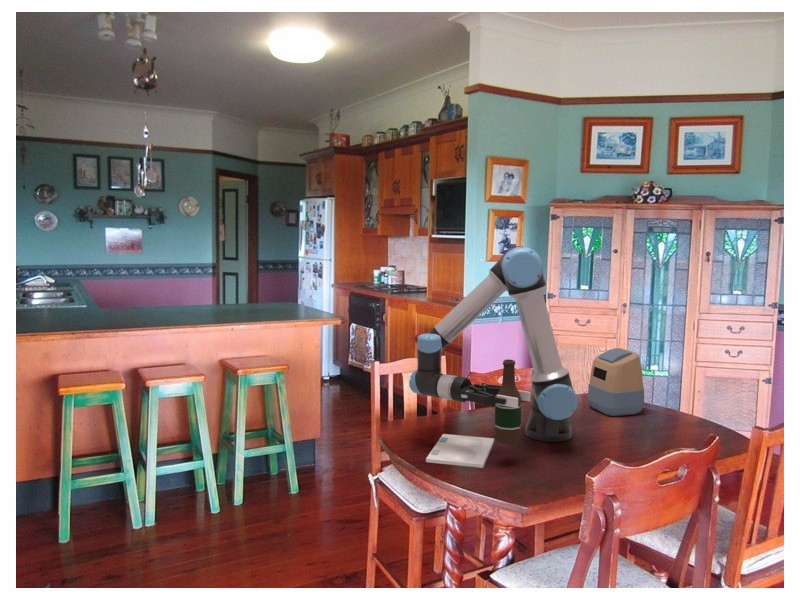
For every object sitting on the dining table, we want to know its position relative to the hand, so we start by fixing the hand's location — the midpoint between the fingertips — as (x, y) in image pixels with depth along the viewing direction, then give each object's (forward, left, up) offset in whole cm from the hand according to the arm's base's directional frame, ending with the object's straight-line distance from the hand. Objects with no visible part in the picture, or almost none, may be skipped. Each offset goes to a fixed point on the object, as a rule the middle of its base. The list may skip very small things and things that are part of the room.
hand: (523, 399), depth 185 cm
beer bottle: (+5, -2, -13) cm, 14 cm away
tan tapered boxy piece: (-28, -68, -20) cm, 76 cm away
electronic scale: (+19, -8, -20) cm, 29 cm away
